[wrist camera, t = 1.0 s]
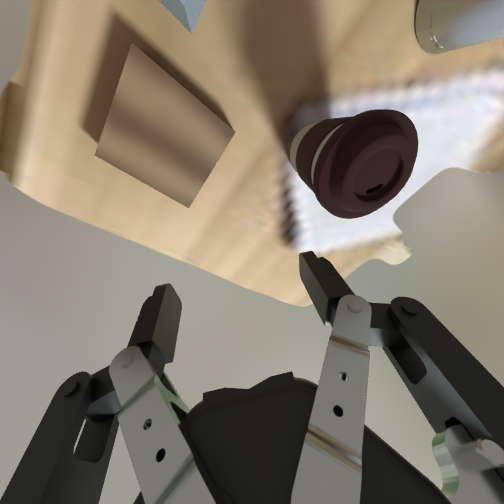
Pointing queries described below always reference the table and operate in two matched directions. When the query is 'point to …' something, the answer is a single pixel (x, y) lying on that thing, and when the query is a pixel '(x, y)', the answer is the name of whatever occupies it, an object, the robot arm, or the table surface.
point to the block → (185, 11)
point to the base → (161, 131)
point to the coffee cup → (356, 160)
